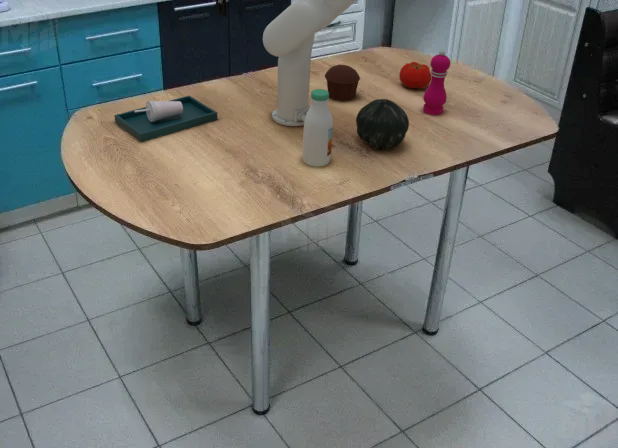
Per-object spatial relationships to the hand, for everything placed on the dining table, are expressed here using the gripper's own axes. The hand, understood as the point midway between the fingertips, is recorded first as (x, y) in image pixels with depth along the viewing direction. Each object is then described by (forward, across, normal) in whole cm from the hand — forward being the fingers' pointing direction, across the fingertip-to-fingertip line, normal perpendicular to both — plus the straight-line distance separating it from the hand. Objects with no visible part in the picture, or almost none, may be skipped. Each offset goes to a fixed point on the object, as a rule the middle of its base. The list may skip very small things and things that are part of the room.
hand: (221, 14), depth 200 cm
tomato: (+27, -59, +29) cm, 71 cm away
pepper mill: (+27, -48, +47) cm, 72 cm away
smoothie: (+24, +18, +3) cm, 30 cm away
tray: (+27, +23, +3) cm, 36 cm away
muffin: (+27, -32, +20) cm, 47 cm away
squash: (+27, -18, +52) cm, 61 cm away
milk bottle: (+27, +4, +48) cm, 56 cm away
